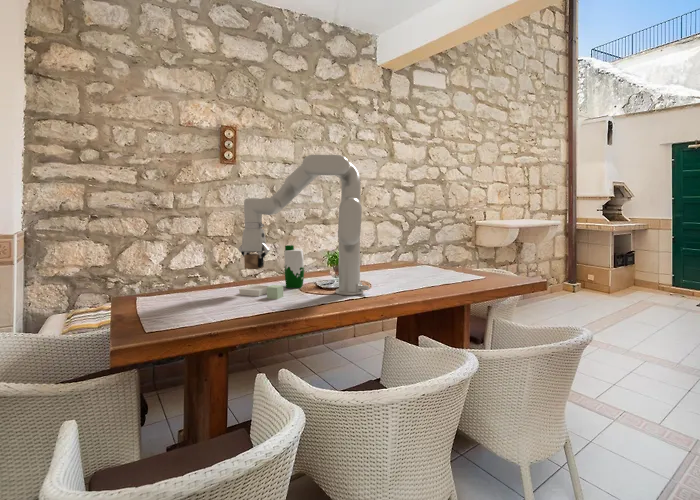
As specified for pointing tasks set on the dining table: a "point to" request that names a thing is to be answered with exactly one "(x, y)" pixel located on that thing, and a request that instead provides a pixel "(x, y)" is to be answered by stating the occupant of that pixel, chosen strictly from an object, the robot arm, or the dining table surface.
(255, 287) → the stone base
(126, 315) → the dining table surface
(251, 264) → the walnut block
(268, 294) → the sage block
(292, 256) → the milk carton
